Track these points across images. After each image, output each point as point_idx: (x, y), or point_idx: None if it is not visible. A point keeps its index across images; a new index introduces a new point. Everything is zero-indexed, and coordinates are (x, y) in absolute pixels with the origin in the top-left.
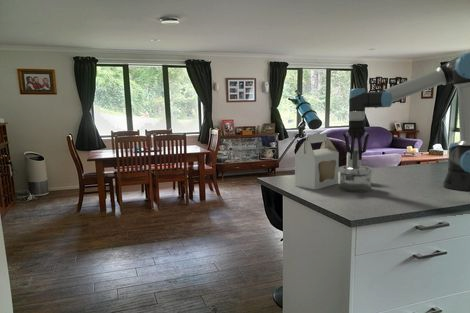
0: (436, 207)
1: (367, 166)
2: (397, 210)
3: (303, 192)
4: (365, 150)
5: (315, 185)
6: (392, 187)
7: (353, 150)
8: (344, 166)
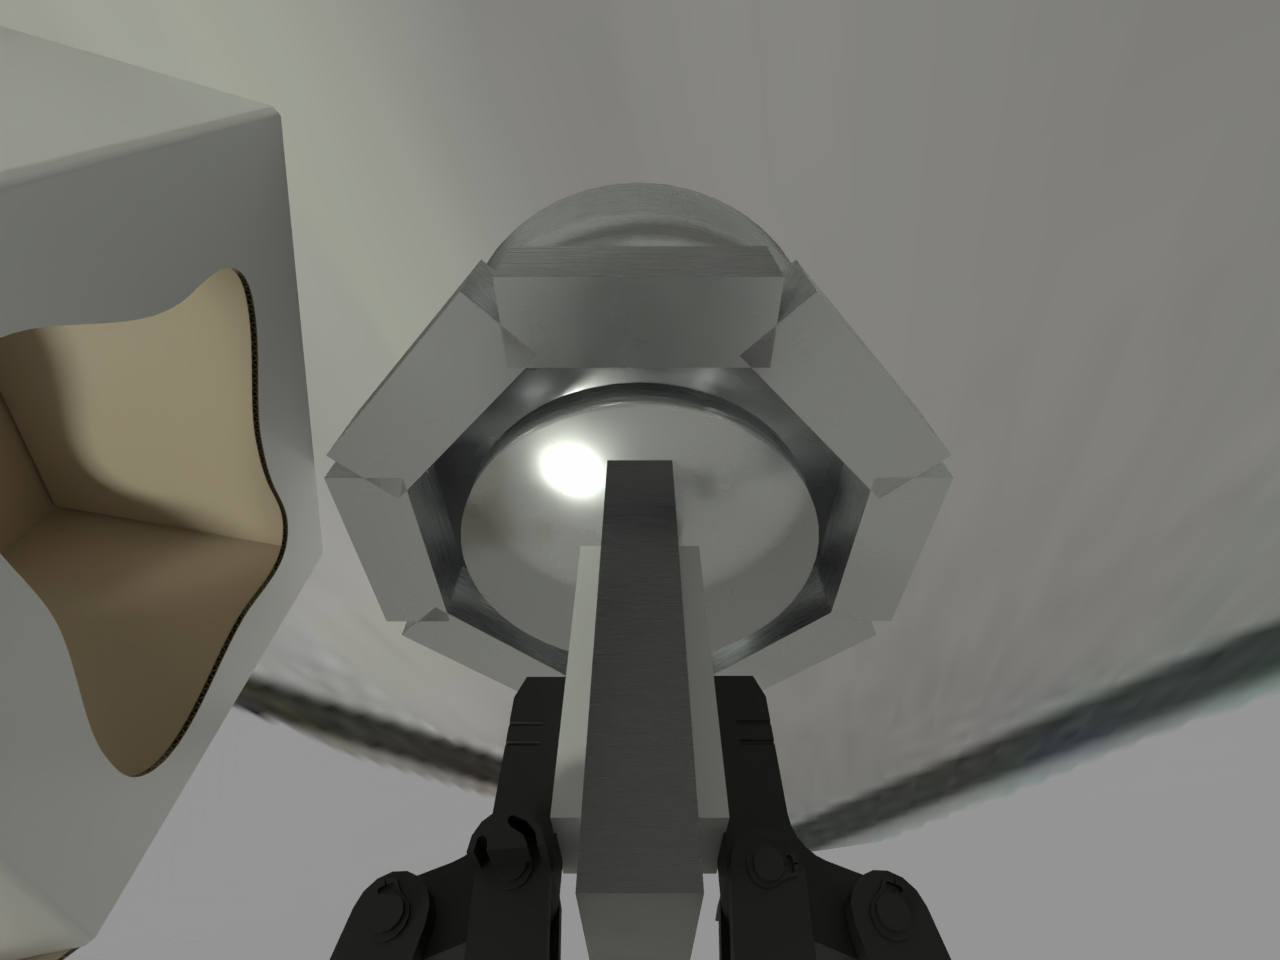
0: (1228, 630)
1: (835, 324)
2: (960, 728)
3: (323, 641)
4: (921, 951)
5: (305, 576)
6: (1156, 4)
7: (540, 932)
8: (396, 501)
